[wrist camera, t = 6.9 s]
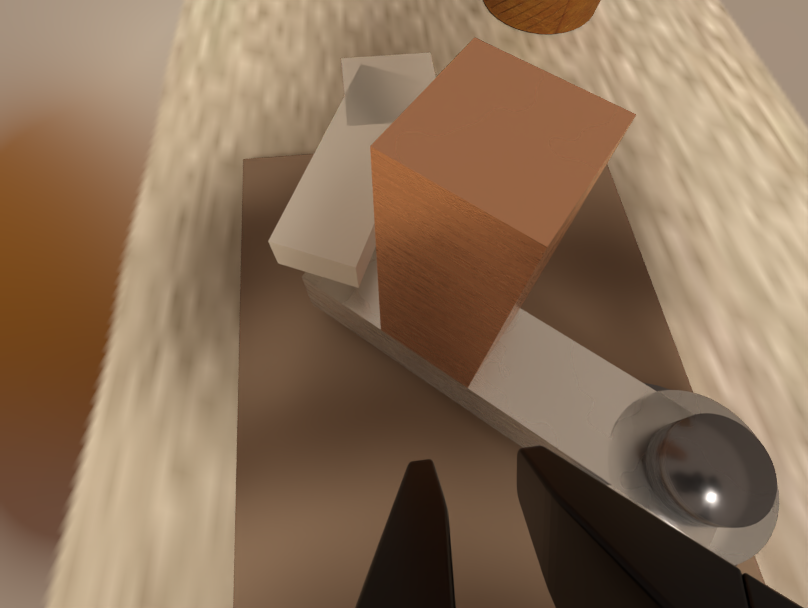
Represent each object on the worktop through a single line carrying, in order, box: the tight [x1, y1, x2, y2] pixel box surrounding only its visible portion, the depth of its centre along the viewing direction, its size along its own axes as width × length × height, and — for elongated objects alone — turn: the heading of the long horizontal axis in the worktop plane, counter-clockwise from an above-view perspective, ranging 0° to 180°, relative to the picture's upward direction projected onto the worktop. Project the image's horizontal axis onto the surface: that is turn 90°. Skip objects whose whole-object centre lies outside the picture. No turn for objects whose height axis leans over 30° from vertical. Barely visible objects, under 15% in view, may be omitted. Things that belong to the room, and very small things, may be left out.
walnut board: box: [233, 154, 765, 608], centre depth 16 cm, size 24×15×1 cm, turn 7°
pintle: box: [644, 383, 777, 566], centre depth 13 cm, size 6×6×4 cm
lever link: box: [302, 38, 779, 565], centre depth 11 cm, size 4×14×10 cm, turn 55°
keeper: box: [268, 52, 436, 288], centre depth 16 cm, size 8×5×4 cm
